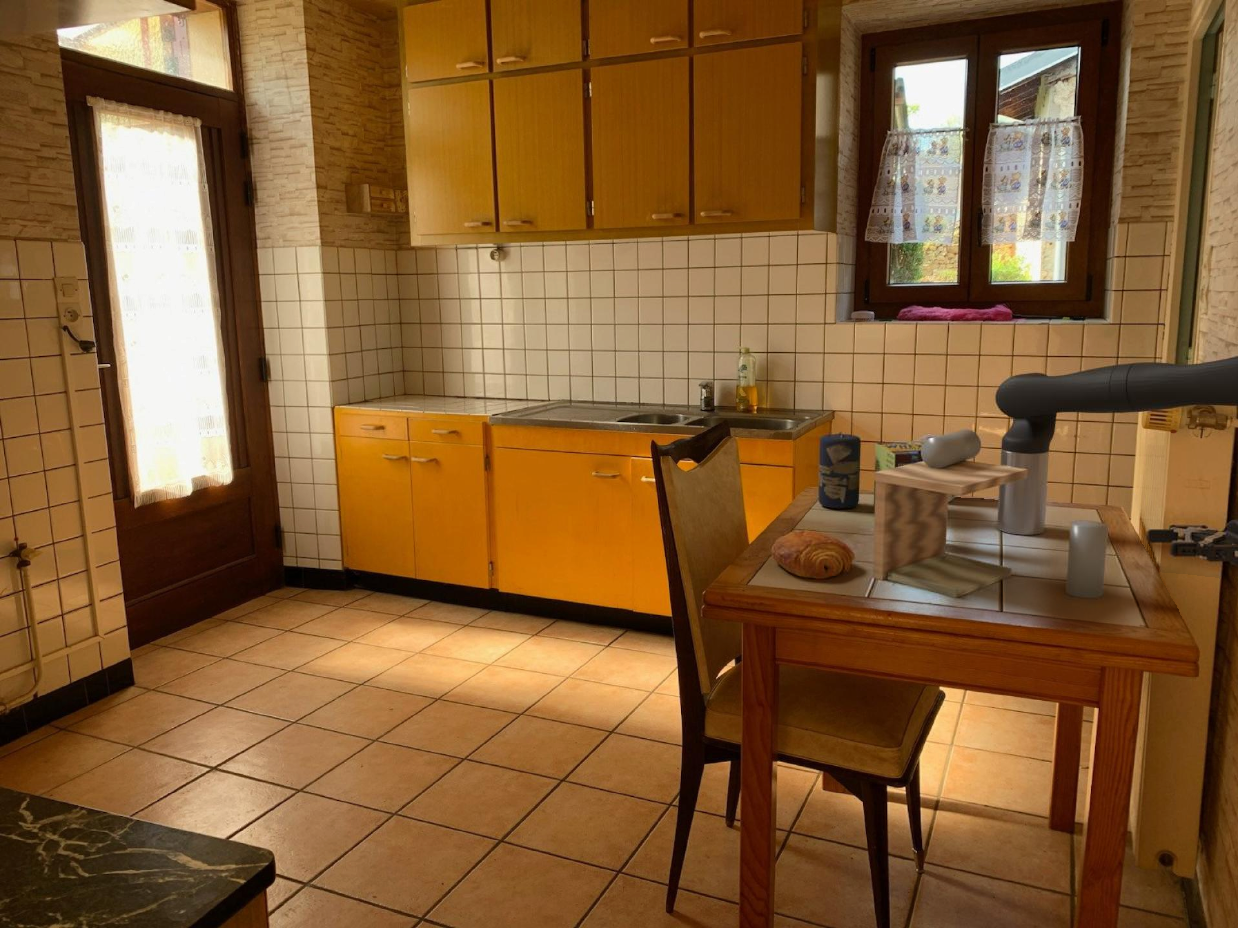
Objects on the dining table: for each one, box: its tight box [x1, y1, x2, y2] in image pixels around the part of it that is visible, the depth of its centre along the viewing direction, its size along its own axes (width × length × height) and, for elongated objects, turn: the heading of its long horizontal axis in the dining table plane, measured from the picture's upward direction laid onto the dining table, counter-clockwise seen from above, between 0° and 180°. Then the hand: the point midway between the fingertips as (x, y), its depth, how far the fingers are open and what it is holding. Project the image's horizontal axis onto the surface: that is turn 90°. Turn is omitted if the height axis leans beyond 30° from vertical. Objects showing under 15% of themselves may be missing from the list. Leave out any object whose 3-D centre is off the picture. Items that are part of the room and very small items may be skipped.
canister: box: [817, 431, 862, 509], centre depth 222 cm, size 10×10×18 cm
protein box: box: [873, 442, 923, 508], centre depth 214 cm, size 10×15×16 cm
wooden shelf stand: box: [872, 460, 1027, 598], centre depth 168 cm, size 21×17×20 cm
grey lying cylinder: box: [921, 429, 982, 469], centre depth 172 cm, size 6×6×12 cm
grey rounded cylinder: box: [1065, 519, 1109, 599], centre depth 158 cm, size 6×6×12 cm
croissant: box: [771, 529, 856, 580], centre depth 176 cm, size 14×16×8 cm
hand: (1159, 542), depth 156 cm, fingers open, 8 cm apart
